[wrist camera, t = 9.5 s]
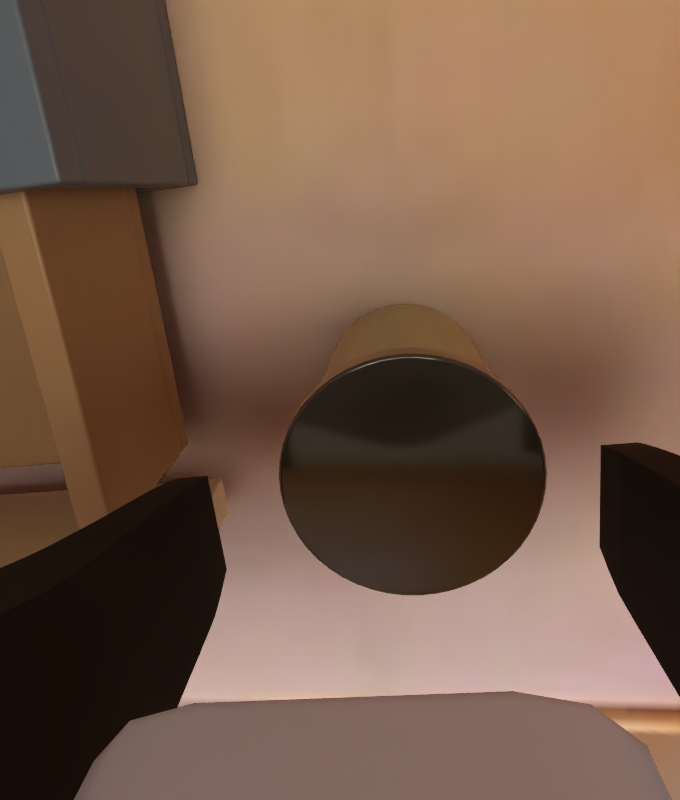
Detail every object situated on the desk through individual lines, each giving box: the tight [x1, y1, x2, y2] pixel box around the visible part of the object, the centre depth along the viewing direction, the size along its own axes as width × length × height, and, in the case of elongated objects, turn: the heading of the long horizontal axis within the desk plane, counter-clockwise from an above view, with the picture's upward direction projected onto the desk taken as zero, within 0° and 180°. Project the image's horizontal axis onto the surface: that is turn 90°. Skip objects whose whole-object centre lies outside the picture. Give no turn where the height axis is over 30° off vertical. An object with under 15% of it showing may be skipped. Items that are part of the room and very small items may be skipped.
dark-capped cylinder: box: [279, 304, 547, 595], centre depth 15 cm, size 5×5×7 cm
